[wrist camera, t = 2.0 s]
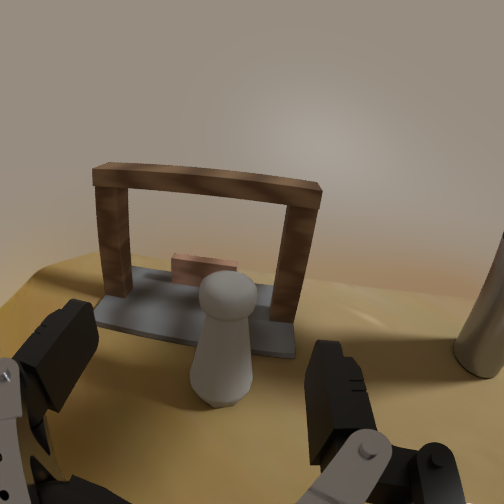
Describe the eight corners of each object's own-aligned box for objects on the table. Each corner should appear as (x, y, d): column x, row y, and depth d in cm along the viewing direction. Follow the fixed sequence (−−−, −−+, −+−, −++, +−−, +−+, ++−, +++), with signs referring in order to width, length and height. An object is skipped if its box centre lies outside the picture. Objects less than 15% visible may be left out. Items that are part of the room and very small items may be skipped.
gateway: (289, 292, 46) (311, 173, 38) (294, 358, 33) (331, 205, 25) (129, 269, 46) (125, 156, 38) (88, 323, 33) (67, 179, 25)
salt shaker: (179, 384, 28) (173, 271, 22) (224, 363, 31) (234, 254, 26) (214, 425, 24) (221, 313, 18) (261, 397, 27) (285, 287, 22)
